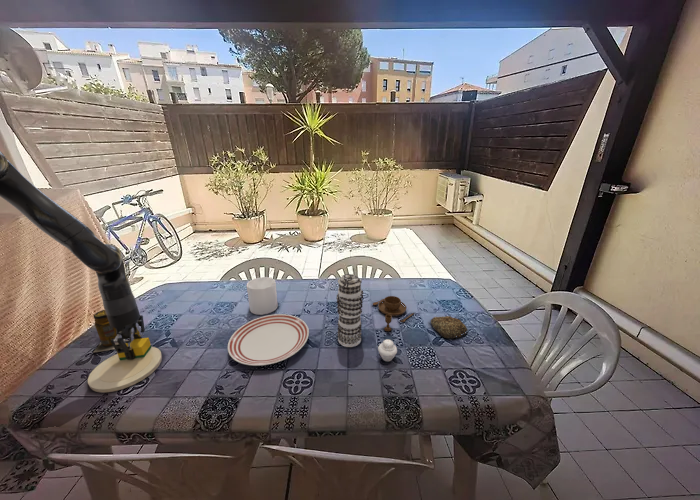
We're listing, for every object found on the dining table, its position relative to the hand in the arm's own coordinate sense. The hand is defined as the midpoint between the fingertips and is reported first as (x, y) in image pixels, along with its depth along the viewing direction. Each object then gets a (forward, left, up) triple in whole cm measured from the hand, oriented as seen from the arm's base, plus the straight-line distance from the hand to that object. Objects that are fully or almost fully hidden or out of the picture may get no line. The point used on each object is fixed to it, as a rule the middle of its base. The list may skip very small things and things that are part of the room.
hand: (135, 352), depth 89 cm
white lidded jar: (+81, -18, -2) cm, 83 cm away
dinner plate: (+43, -2, -2) cm, 43 cm away
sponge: (0, 0, 0) cm, 0 cm away
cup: (+39, +23, -2) cm, 45 cm away
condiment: (-12, +10, -2) cm, 16 cm away
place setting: (+90, +7, -2) cm, 90 cm away
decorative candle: (+71, -6, -2) cm, 71 cm away
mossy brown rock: (+110, -8, -2) cm, 110 cm away
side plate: (0, -5, -2) cm, 6 cm away
